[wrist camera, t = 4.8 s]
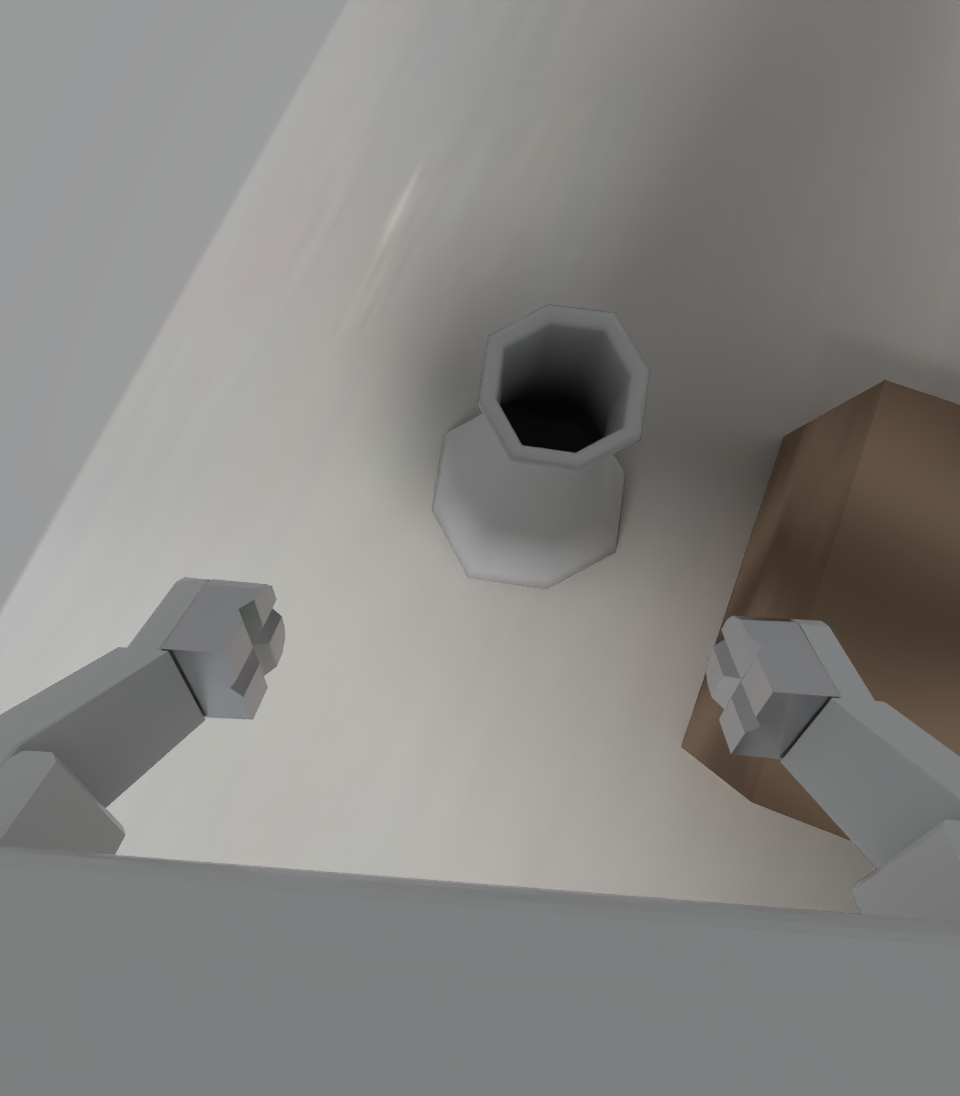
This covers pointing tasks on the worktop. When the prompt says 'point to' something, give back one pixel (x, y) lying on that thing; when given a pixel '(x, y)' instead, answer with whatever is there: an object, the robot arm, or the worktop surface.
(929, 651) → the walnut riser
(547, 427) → the flask
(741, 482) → the worktop surface
